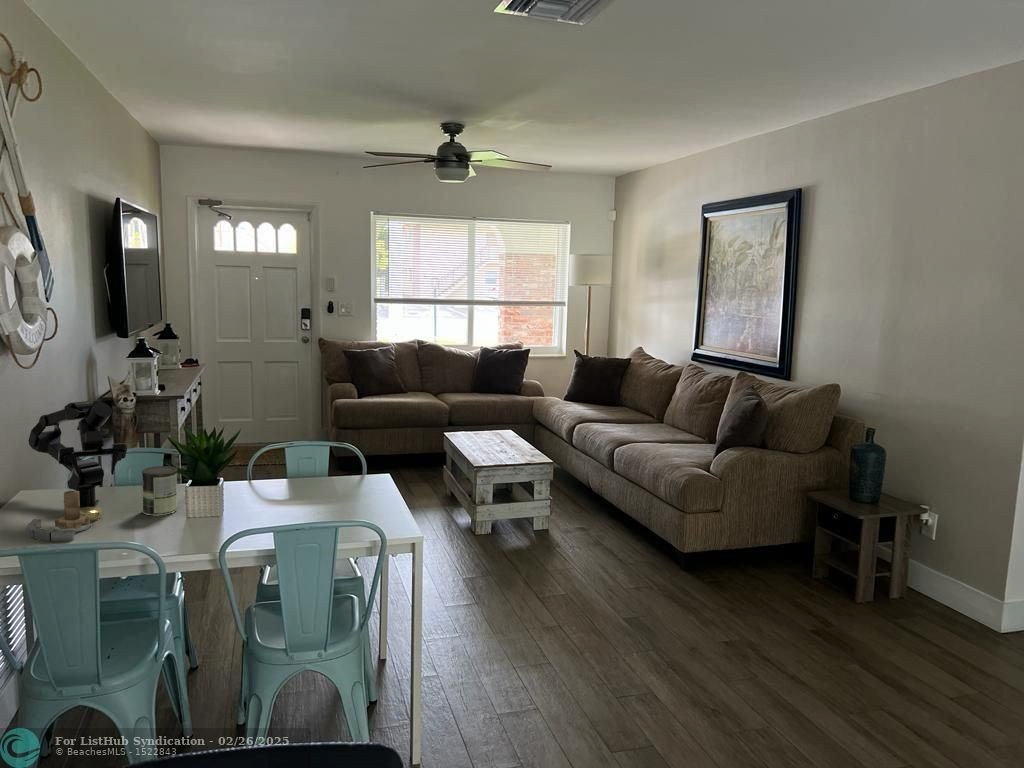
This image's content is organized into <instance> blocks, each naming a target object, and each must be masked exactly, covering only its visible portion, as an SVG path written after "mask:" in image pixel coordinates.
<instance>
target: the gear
mask: <svg viewBox="0 0 1024 768" xmlns="http://www.w3.org/2000/svg"><path fill="white" fill-rule="evenodd" d="M63 507H64V508H63V509H64V515H63V516H62V517H60V518H59V517H58V518H56V519H55V520H54V527H55V526H59V529H66V528H81V527H82V526H84V525H85V524H89V523H91V522H90V519H89V517H86V516H85V514H80V508H81V507H80V496H79V491H76V490H69V491H64V492H63Z"/></svg>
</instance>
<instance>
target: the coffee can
mask: <svg viewBox="0 0 1024 768" xmlns="http://www.w3.org/2000/svg"><path fill="white" fill-rule="evenodd" d="M177 472H178V468H177V467H174V466H169V465H158V466H151V467H146V468H144V469H142V471H141V474H142V514H143V513H144V514H146V515H145V516H147V515H153V516H152V517H160V516H159V515H165V516H167V515H166V514H170V513H173V514H175V513H176V512H177V511H178V507H177V506H178V504H177V503H178V502H177V499H178V497H177V496H178V493H177V492H178V491H177V489H178V488H177V487H178V485H177V483H178V481H177V480H178V479H177V478H178V476H177V475H178V473H177ZM175 511H176V512H175ZM174 512H175V513H174ZM144 514H143V515H144ZM170 515H171V514H170Z"/></svg>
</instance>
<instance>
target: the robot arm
mask: <svg viewBox="0 0 1024 768" xmlns="http://www.w3.org/2000/svg"><path fill="white" fill-rule="evenodd" d="M112 414H113V409H112V407H111V406H110V405H108V404H107V403H104V402H103V401H101V399H98V400H94V401H93V402H91V401H90V400H83V401H82V400H81V401H73V402H69V403H68V404H66V405H64V407H63V409H60V410H56V411H54V412H51V413H48V414H42V415H41V416H40V417H39V419H38V422H37V423H36V425H35V426H33V428H32V429H31V430H30V433H29V437H28V445H29V447H31V449H32V450H34V451H36V452H38V453H43V454H48V455H49V456H51V457H52V458H54V460H56V461H57V463H58V464H59V465H62V466H63V467H65V468H66V469H67V470H69V472H71V476H70V478H69V479H68V481H67V487H68V489H70V490H72V491H79V496H80V508H84V507H96V506H97V505H98V504H99V502H100V499H96V498H97V497H96V496H97V495H96V487H99V486H102V485H103V481H104V478H105V471H104V469H103V467H102V466H101V465H100V462H97V461H96V460H95V459H93V458H87V459H82V457H83V458H85V457H96V456H98V457H99V456H108V455H109V456H110V457H111V458H110V472H111V476H113V475H114V473H115V469H116V465H117V464H118V462H120V461H122V460H123V459H125V458H126V455H127V451H128V448H127V444H126V443H124V442H120V443H119V442H118V443H112V444H111V447H108V448H103V447H104V445H105V443H104V441H106V440H110V437H111V435H110V429H109V428H103V429H102V430H101V428H100V427H102V426H103V425H104V424H105V423H106V422H107V421H108V419H109V418H110V416H112ZM76 420H80V421H79V422H78V425H77V427H76V430H77V431H79V437H80V444H81V450H75V448H74V446H69V447H67V446H65V445H64V444H63V443H62V442H61V439H62V438H61V437H62V429H61V427H60V424H62V423H66V422H68V421H76ZM51 426H52V427H54V429H53V430H47V431H45V430H46V428H47V427H51Z"/></svg>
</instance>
